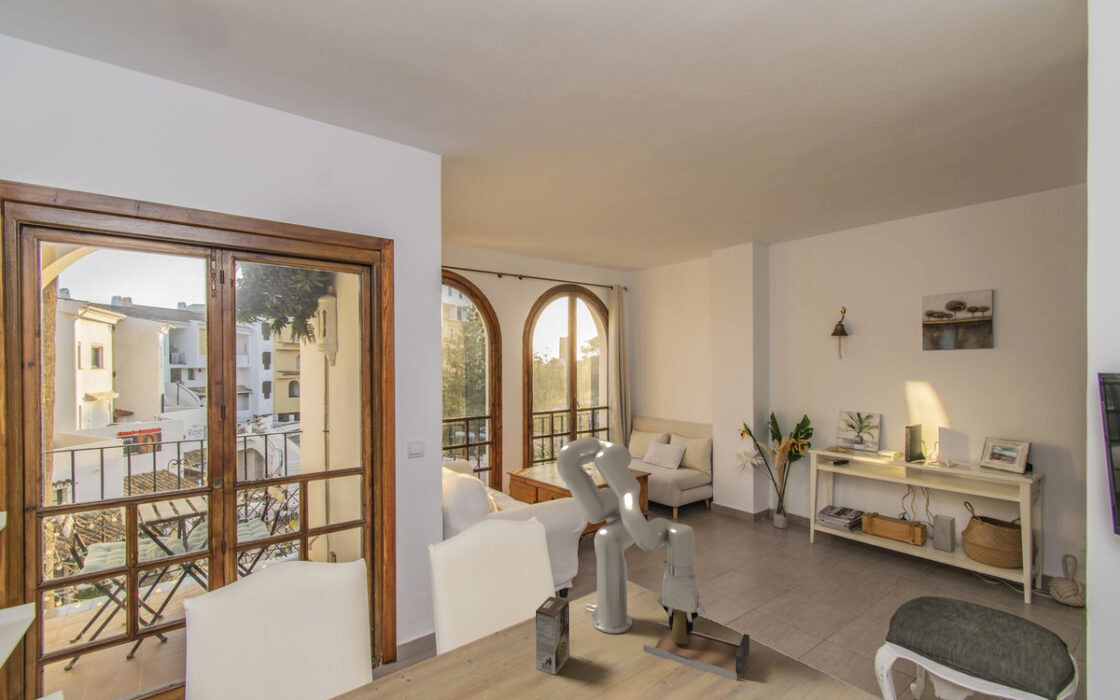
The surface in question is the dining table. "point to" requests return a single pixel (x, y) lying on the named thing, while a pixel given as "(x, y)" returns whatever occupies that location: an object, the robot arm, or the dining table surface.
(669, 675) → the dining table surface
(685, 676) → the dining table surface
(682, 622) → the cork
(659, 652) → the rails
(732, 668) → the brown tray
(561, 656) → the coffee box
